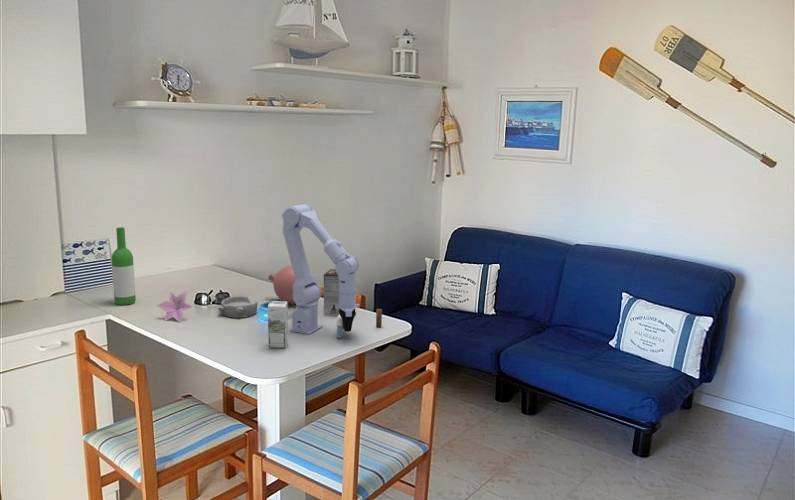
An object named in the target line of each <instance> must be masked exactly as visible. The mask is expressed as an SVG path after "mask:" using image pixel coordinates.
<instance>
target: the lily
mask: <svg viewBox="0 0 795 500" xmlns="http://www.w3.org/2000/svg"><path fill="white" fill-rule="evenodd" d="M188 292H189V291H188V290H185V291H182V292H181V293H179V294H178V295H177V296H176V294H174V293H173V292H171V291H170V292H169V295H168V300H166V301H162V302H159V303H158V304H157V305H156V307H157V308H159V309H160V310H162V311H165V312H166V313H165V316H164V318H163V319H164V321H165V322H166V321H168V320H170V319H171V318H174V319H175V320H176V321H177V322H178V323H183V318H184V317H183V316H184V311H188V310H190V309H191V310H192V308H193V306H192V305H191V304H188V303H187V302H186V299H187V296H188Z"/></svg>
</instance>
